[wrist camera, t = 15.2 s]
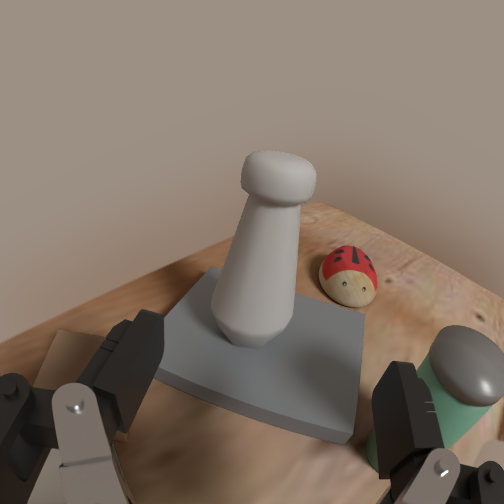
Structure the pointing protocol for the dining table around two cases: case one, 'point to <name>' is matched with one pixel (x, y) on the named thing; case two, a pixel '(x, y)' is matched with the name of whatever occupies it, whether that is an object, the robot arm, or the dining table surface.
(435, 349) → the dark green jar
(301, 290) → the dining table surface
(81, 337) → the brown wooden block
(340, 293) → the ladybug figurine
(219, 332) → the cutting board
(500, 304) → the dining table surface
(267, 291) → the salt shaker
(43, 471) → the white dome
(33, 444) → the robot arm
